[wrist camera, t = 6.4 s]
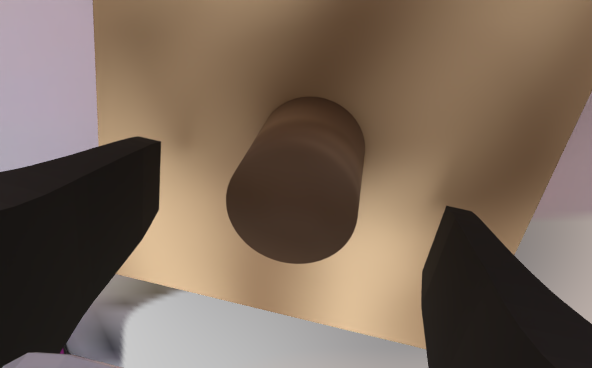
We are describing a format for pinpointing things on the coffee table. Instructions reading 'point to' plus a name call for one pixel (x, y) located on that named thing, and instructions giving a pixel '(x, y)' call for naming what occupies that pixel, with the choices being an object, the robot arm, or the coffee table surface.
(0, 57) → the coffee table surface
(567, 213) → the coffee table surface
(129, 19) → the oak lid
